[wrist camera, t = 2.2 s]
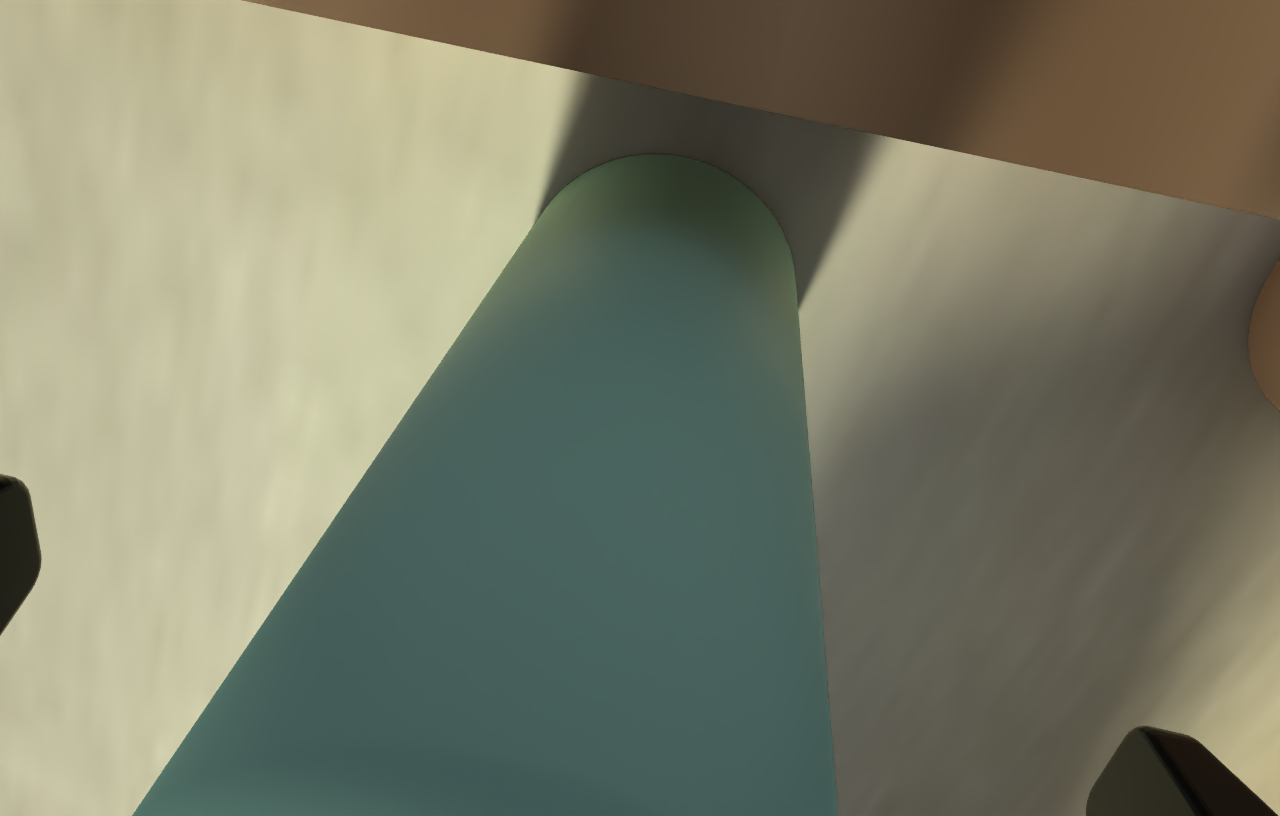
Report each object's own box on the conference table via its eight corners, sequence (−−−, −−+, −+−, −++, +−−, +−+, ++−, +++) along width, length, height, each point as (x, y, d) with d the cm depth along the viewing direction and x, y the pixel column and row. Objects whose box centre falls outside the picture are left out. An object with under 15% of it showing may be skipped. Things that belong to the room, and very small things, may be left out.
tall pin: (829, 188, 13) (975, 862, 4) (758, 434, 15) (750, 1241, 6) (540, 126, 13) (46, 656, 4) (509, 380, 15) (137, 1102, 6)
